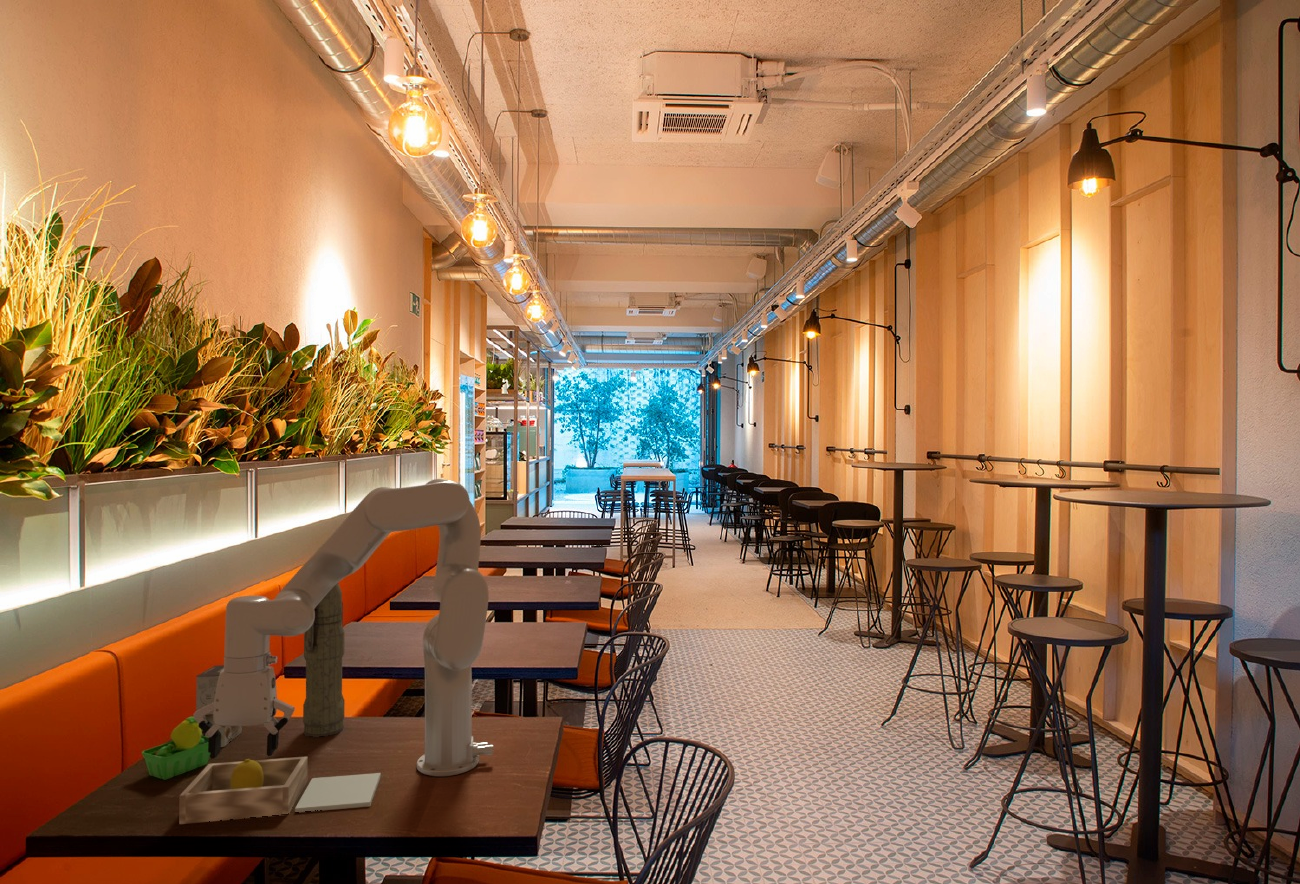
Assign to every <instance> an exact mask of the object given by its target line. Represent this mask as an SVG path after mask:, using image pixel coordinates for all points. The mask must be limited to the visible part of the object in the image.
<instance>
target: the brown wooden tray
mask: <svg viewBox="0 0 1300 884" xmlns="http://www.w3.org/2000/svg"><path fill="white" fill-rule="evenodd" d="M253 760H254V759H253ZM308 760H309V758H308V756H296V757H283V758H282V757H281V758H270V759H269V758H268V759H267V758H266V759H255V760H254V761H256V762H258V763H259V764H260V765H261V767H262V770H263V775H264V781H263V786H262V787H254V788H242V789H231V786H230V782H231V776H232V773H233V771H234V769H235V768H236V766H237V765H238V764H240V763H241V762H243V761H244V760H243V761H231V762H230V761H228V762H217V763H216V762H215V763H207V764H206V765H205V768H204V769H203V770H201V772H200V773H199V774H198V775H197V776H196V777H195V778H194V779H193V780H192V781H191V782H190V784H189V785H187V787H186V788H185V789H184V790H183V791H182V792H181V793H180V794H179V804H178V809H179V811H178V812H179V813H178V814H179V815H178V816H179V817H178V822H179V824H178V825H185V824H196V823H197V824H198V823H206V822H207V823H208V822H209V821H210V822H220V820H222V821H230V819H233V820H243V819H244V818H245V819H251V818H250V817H256V818H263V817H262V816H268V817H273V816H272V815H279V816H282V815H281V814H288V813H289V814H290V812H291V811H292V810H293V808H292V807H294V806H295V804H296V803H297V801H298V799H299V798H300V796H301V794H302V792H303V790H304V789H305V786H306V785H307V783H308V767H309V765H308Z"/></svg>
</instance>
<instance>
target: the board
mask: <svg viewBox="0 0 1300 884" xmlns="http://www.w3.org/2000/svg"><path fill="white" fill-rule="evenodd" d="M381 774H382V773H381V772H374V773H362V774H350V775H336V776H324V777H313V778H311V780H310V781H309V783H308V785H307V787H306V789H305V790H304V792H303V793H302V796H301V797H300V799H299V801H298V803H297V805H296V806H295V807H294V813H295V812H299V813H306V812H305V811H311V812H321V811H320V810H322V811H330V810H332V811H333V810H342V809H355V808H356V809H357V808H366V807H367V808H368V807H371V804H372V802H373V799H374V797H375V794H376V791H377V788H378V786H379V782H380V780H381V777H382V775H381ZM315 810H316V811H315ZM317 810H318V811H317Z"/></svg>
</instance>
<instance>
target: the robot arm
mask: <svg viewBox="0 0 1300 884" xmlns="http://www.w3.org/2000/svg"><path fill="white" fill-rule="evenodd" d="M435 526H437V527H438V531H439V532H438V534H439V541H438V543H439V546H438V554H437V562H436V568H435V575H434V580H433V587H432V588H433V594H434V596H435V598H436V599H437V601H438V602H439V604H440V605H439V610H438V611H439V613H438V614H436V615H434V617H432V618H431V619H430V620H429V621H428V623H427V625H425V628H424V631H423V637H422V649H423V662H424V754H423V755H421V756H420V757H419V758H418V759H417V761H416V769H417V770H418V772H419V773H421V774H423V775H427V776H429V777H431V776H432V777H449V776H456V775H459V774H464V773H466V772H468V771H470V770H472V769H474V768H475V767H476V766H477V765H478V764H479V761H480V758H479V757H480V756H483V755H484V756H489V755H490V756H491V755H494V745H493V744H488V742H477V741H474V736H473V735H472V689H473V688H472V687H473V685H472V681H473V680H472V679H473V678H472V676H473V675H472V665H473V664H474V663H475V662H476V661H477V659H478V657H479V656H480V654H481V652H482V648H483V645H484V637H485V632H486V624H487V623H486V622H487V615H488V609H489V608H488V606H489V598H490V597H489V586H488V583H487V580H486V578H485V577H484V575H483V574H482V573H481V572H480V571H479V564H480V551H481V550H480V549H481V542H482V541H481V539H482V536H481V535H482V533H481V525H480V519H479V515H478V513H477V511H476V508H475V507H474V505H473V504H472V502H471V500H470V494H469V492H468V490H467V489H466V488H465V486H463V484H461V483H459V482H457V481H454V480H451V479H450V480H449V479H444V478H435V479H431V480H429V481H428V482H426V483H424V484H421V485H419V484H418V485H412V486H406V487H396V488H395V487H389V486H388V487H387V486H381V487H377V488H374V489H372V490H371V491H370V492H369V493H367V494H366V495H365V497H364V498H362V500H361V501H360V502H359V503H358V504H357V505H356V507H354V509H353V510H352V511H350V513H349V515H348V516H346V518H345V519H344V521H342V522H341V524H340V525H339V526H338V527H337V529H335V531H334V532H333V533H332V534H331V535H330V536H329V537H328V538H327V539H326V541H324V543H323V544H321V546H320V547H319V548H318V549H317V550H316V552H314V553H313V555H312V556H311V557H310V558H309V559H308V560H307V561H306V562H305V563H304V564H303V565H302V566H301V567H300V568H299V570H298V571H297V572H295V574H294V575H293V576H292V577H291V579H290V580H289V581H288V582H287V583H286V584H285V585H284V587H282V588H281V590H280V591H279V592H278V594H277V595H276V597H274V599H269V598H268V597H267V596H262V595H242V596H238V597H234V598H232V599H230V600H229V601H228V602H227V603H226V606H225V608H226V609H225V629H224V631H225V632H224V653H223V654H224V657H223V665H224V669H223V670H222V671H221V672H220V675H219V679H218V683H217V688H216V693H215V700H214V702H213V703H211V704H209V705H207V706H205V707H203V708H201V709H199V710H197V711H196V710H195V712H194V713H193V716H192V717H194V718H195V719H196V721H197V723H198V724H199V725H198V726H199V728H200V729H202V730H203V731H204V732H205V733H206V736H207V737H209V740H208V753H210V756H209V759H210V760H213V759H215V758H217V756H218V755H219V754H221V748H222V747H221V733H220V731H219V728H220V727H221V726H242V727H245V726H247V727H249V726H250V727H251V726H264V727H265V728H266V729H267V731H268V732H269V733H268V734H267V736H266V737H267V738H266V756H267V757H271V756H272V755H273V754H274V753H275V751H276V750H277V749H278V747H279V739H280V736H279V735H280V733H279V732H280V730H281V729H282V728H283V727H285V726H286V725H287V723H288V722H289V720H290V719H291V717H292V716H293V714H294V712H295V711H296V707H295V706H293V705H291V704H289V703H286V702H284V701H283V700H279V699H278V696H277V695H278V693H277V692H278V691H277V681H276V675H275V673H276V672H275V670H274V669H275V668H274V667H273V666H270V665H273V664H277V663H278V656H277V655H272V654H271V651H270V644H271V643H270V639H271V638H270V637H271V636H274V637H275V636H277V637H295V636H299V635H304V633H305V632H306V631H307V630H308V629H309V628H310V627H311V626H312V624H313V622H314V619H315V611H314V609H315V607H316V606H317V605H318V604H319V603H320V601H321V600H322V599H323V598H324V597H325V596H326V594H327V593H328V592H329V591H330V590H331V589H332V588H333V587H334V586H335V585H336V584H337V583H340V582H341V581H342V580H343V579H344V578H346V577H348V576H350V575H353V574H354V573H355V572H357V571H358V570H359V569H361V568H362V567H363V566H364V564H366V562H367V561H368V560H369V559H370V557H371V556H372V555H373V553H374V552H375V551H376V550H377V549H378V547H379V546H380V545H382V543H383V542H384V541H385V539H386V538H387V537H388V536H389V535H390V534H391V533H395V532H403V531H411V530H416V529H423V528H428V527H435ZM277 710H278V711H280V712H282V713H283V716H282V718H281V719H279V720H278V719H277V718H276V717H275V716H276V715H277ZM211 711H213V722H214V725H213V724H212V723H211V722H210V721H209V720H207V719H206V716H205V714H207V713H209V712H211Z"/></svg>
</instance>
